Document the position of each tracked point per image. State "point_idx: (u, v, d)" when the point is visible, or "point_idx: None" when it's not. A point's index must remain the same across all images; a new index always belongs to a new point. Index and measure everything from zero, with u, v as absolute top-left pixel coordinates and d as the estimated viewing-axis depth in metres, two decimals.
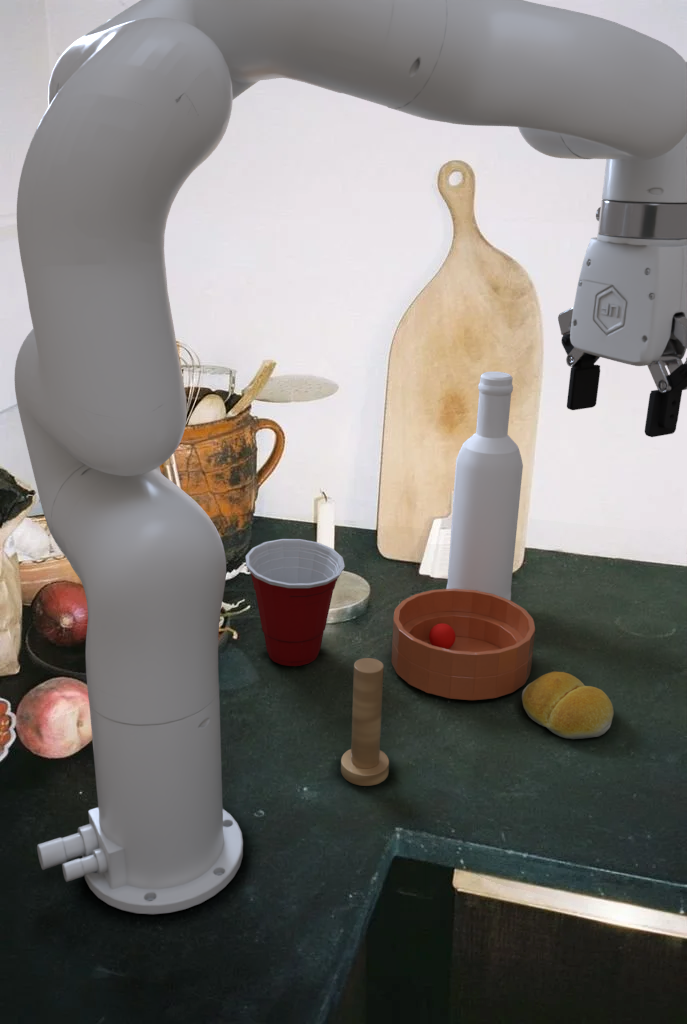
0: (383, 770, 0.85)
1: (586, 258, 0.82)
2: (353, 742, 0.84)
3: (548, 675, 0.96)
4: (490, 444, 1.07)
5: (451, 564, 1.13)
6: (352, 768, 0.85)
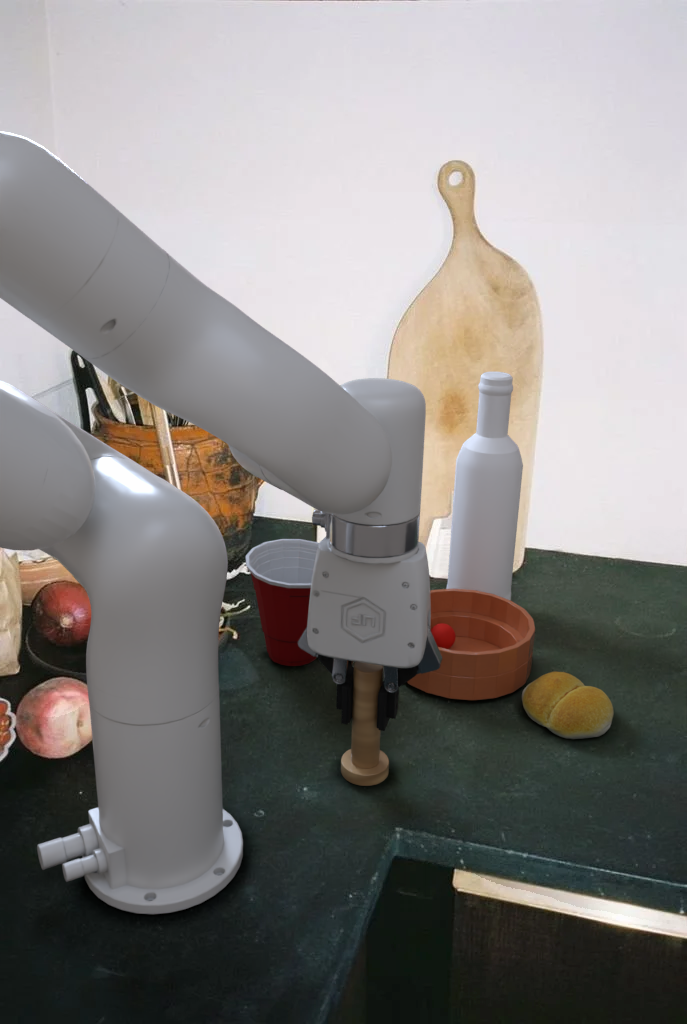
0: (383, 769, 0.85)
1: (320, 570, 0.77)
2: (353, 741, 0.84)
3: (548, 675, 0.96)
4: (490, 444, 1.07)
5: (451, 564, 1.13)
6: (352, 768, 0.85)
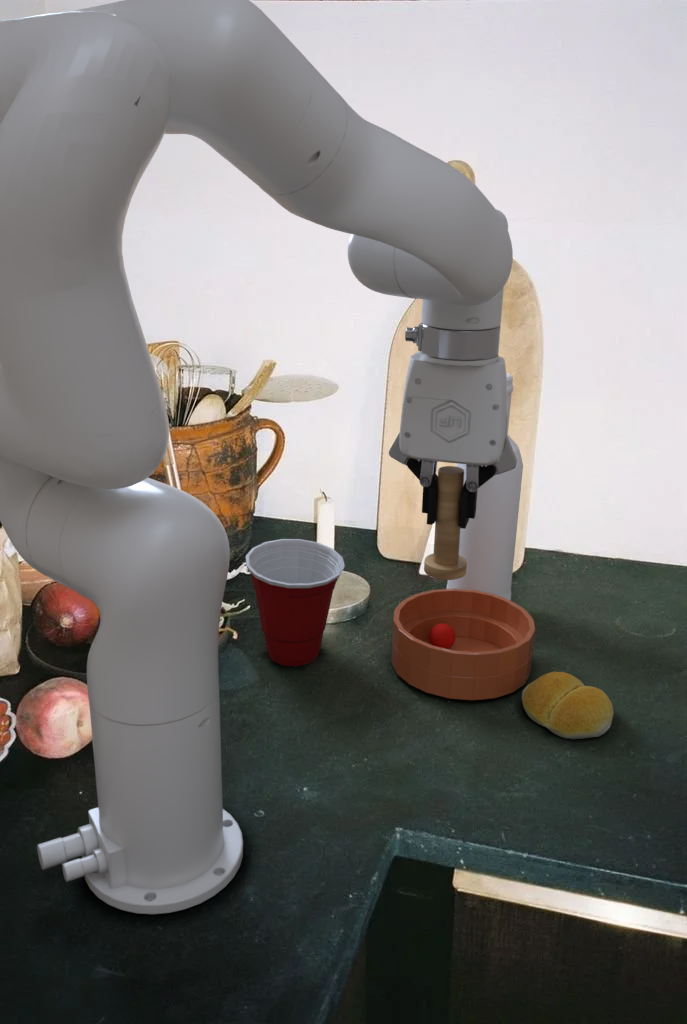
0: (462, 566, 0.96)
1: (413, 377, 0.89)
2: (436, 541, 0.96)
3: (548, 675, 0.96)
4: None
5: None
6: (435, 565, 0.96)
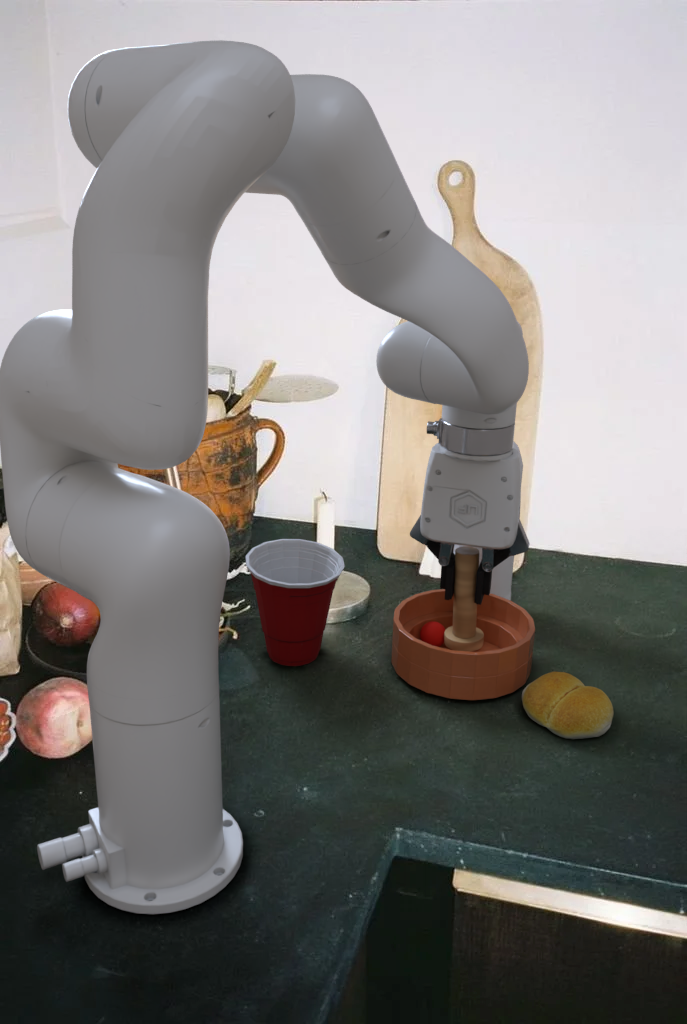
0: (480, 638, 1.03)
1: (434, 468, 0.96)
2: (455, 616, 1.03)
3: (548, 675, 0.96)
4: None
5: None
6: (455, 638, 1.04)
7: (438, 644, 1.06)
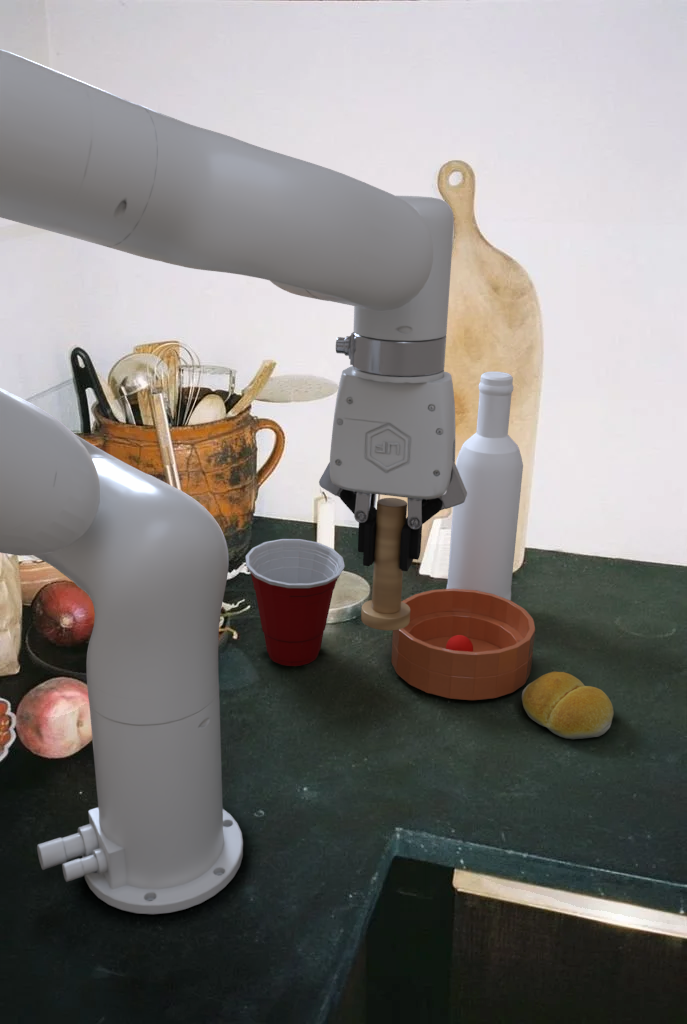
0: (406, 614, 0.83)
1: (344, 396, 0.76)
2: (376, 585, 0.83)
3: (548, 675, 0.96)
4: (490, 444, 1.07)
5: (451, 564, 1.13)
6: (374, 613, 0.83)
7: (458, 647, 1.02)
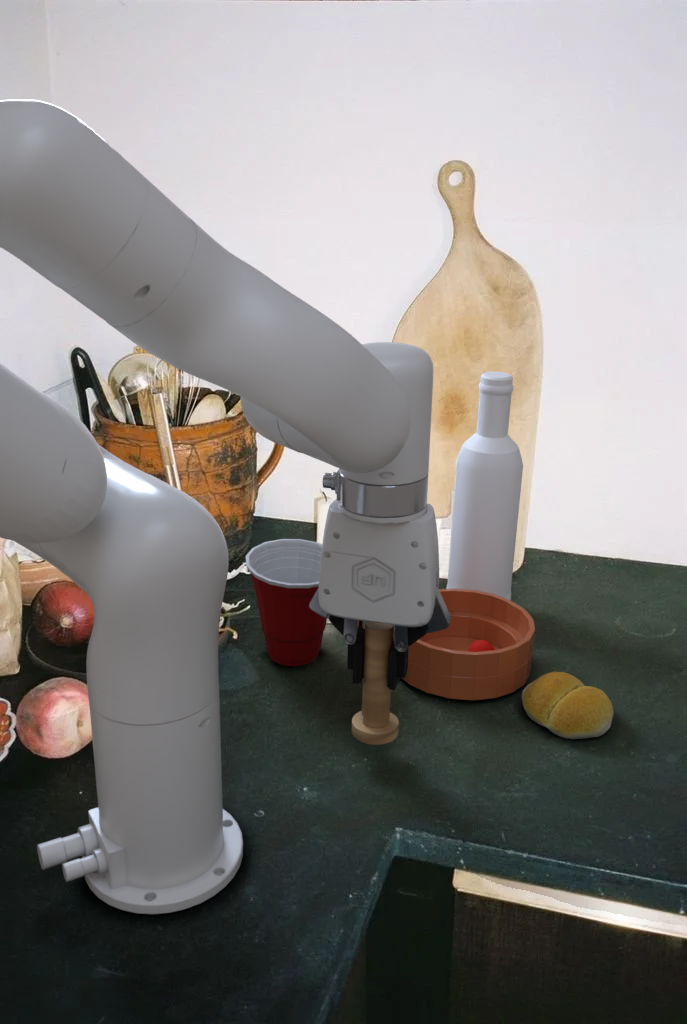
0: (394, 728, 0.86)
1: (331, 531, 0.79)
2: (365, 702, 0.86)
3: (548, 675, 0.96)
4: (490, 444, 1.07)
5: (451, 564, 1.13)
6: (364, 728, 0.86)
7: None
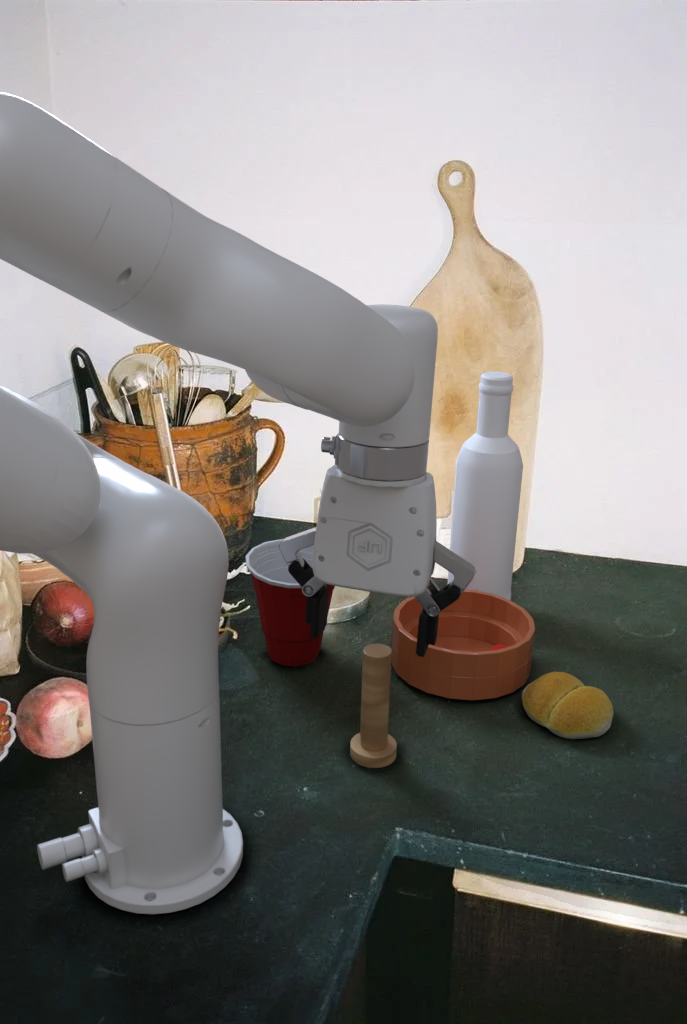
0: (392, 751, 0.87)
1: (328, 495, 0.78)
2: (363, 725, 0.87)
3: (548, 675, 0.96)
4: (490, 444, 1.07)
5: None
6: (362, 751, 0.87)
7: None
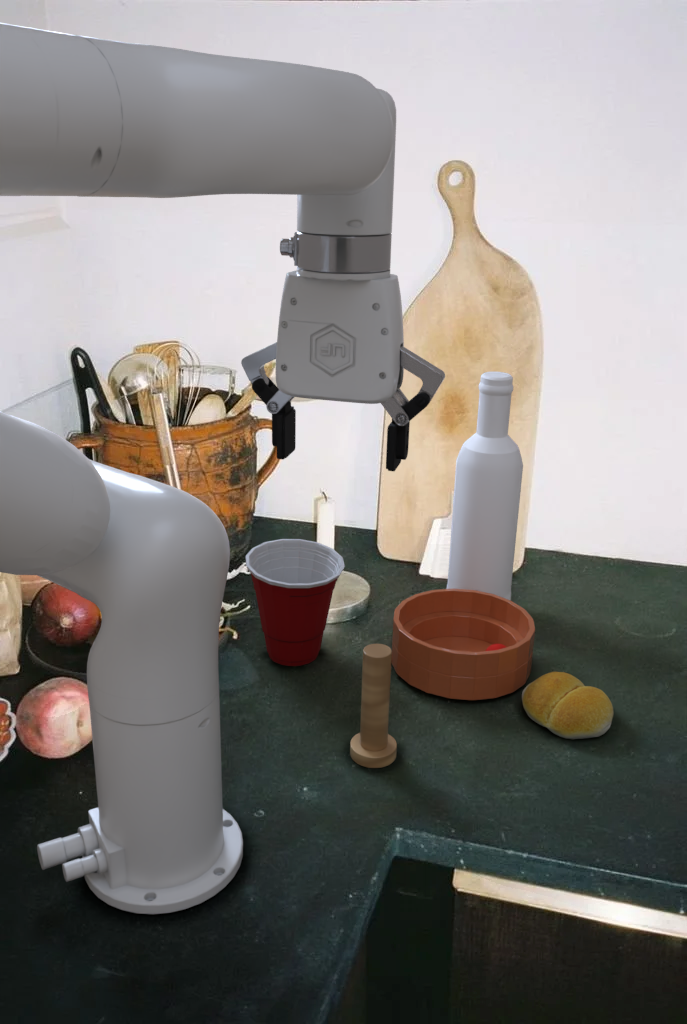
0: (392, 751, 0.87)
1: (288, 297, 0.74)
2: (363, 725, 0.87)
3: (548, 675, 0.96)
4: (490, 444, 1.07)
5: (451, 564, 1.13)
6: (362, 751, 0.87)
7: None
